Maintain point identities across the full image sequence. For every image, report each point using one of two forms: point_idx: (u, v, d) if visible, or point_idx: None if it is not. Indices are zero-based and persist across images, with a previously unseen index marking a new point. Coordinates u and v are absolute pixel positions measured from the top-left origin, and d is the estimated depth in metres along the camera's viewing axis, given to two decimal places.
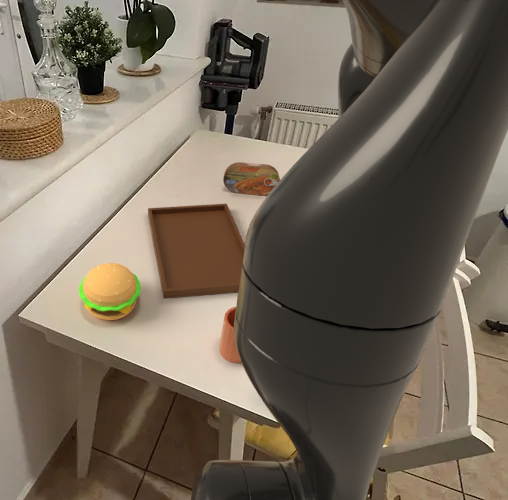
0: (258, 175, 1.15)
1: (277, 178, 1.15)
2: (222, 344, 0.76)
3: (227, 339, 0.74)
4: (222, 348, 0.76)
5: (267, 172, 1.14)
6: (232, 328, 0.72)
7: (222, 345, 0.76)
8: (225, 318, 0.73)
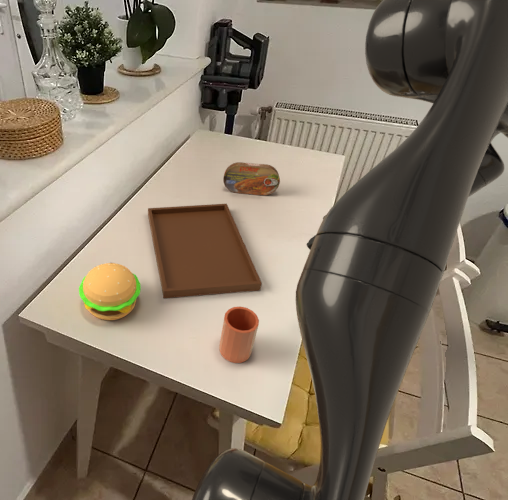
0: (258, 175, 1.15)
1: (277, 178, 1.15)
2: (222, 344, 0.76)
3: (227, 339, 0.74)
4: (222, 348, 0.76)
5: (267, 172, 1.14)
6: (232, 328, 0.72)
7: (222, 345, 0.76)
8: (225, 318, 0.73)
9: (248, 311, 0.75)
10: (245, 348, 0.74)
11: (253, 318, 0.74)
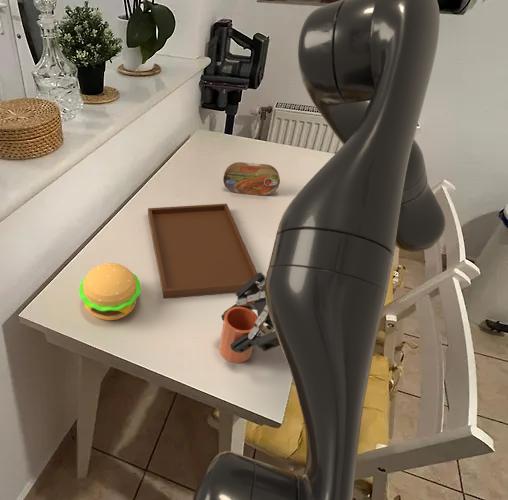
0: (258, 175, 1.15)
1: (277, 178, 1.15)
2: (222, 344, 0.76)
3: (227, 339, 0.74)
4: (222, 348, 0.76)
5: (267, 172, 1.14)
6: (232, 328, 0.72)
7: (222, 345, 0.76)
8: (225, 318, 0.73)
9: (248, 311, 0.75)
10: None
11: (253, 318, 0.74)
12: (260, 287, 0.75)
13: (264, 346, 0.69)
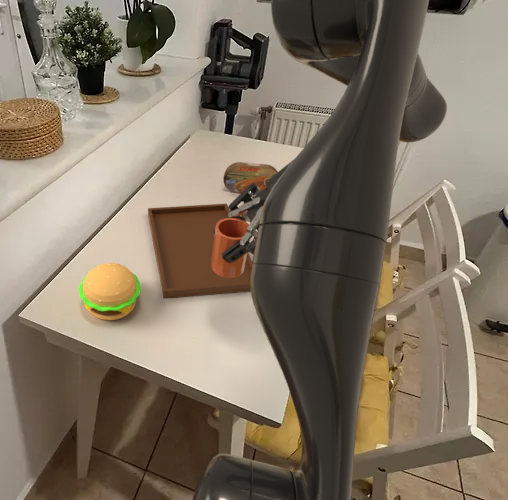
0: (258, 175, 1.15)
1: None
2: (214, 258, 0.73)
3: (218, 250, 0.71)
4: (214, 262, 0.73)
5: (267, 172, 1.14)
6: (223, 235, 0.69)
7: (214, 259, 0.73)
8: (216, 227, 0.70)
9: (240, 222, 0.72)
10: (237, 259, 0.71)
11: None
12: (253, 198, 0.72)
13: None
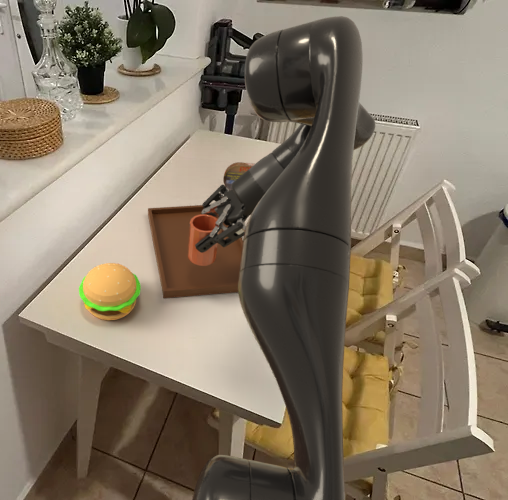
0: None
1: None
2: (189, 248, 0.85)
3: (193, 241, 0.83)
4: (189, 252, 0.86)
5: None
6: (196, 229, 0.81)
7: (189, 249, 0.85)
8: (191, 222, 0.82)
9: (212, 217, 0.84)
10: (209, 249, 0.83)
11: None
12: (223, 197, 0.85)
13: (223, 242, 0.78)
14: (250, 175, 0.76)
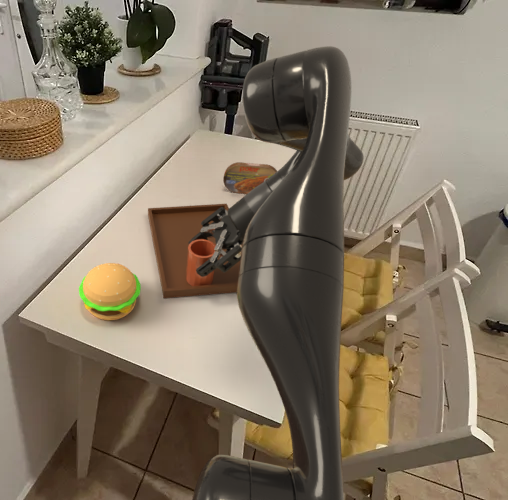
0: (258, 175, 1.15)
1: None
2: (187, 271, 0.89)
3: (191, 265, 0.87)
4: (187, 275, 0.90)
5: (267, 172, 1.14)
6: (194, 254, 0.85)
7: (187, 272, 0.89)
8: (189, 247, 0.86)
9: (209, 242, 0.88)
10: None
11: (213, 248, 0.88)
12: (220, 219, 0.88)
13: (223, 267, 0.81)
14: (245, 203, 0.80)
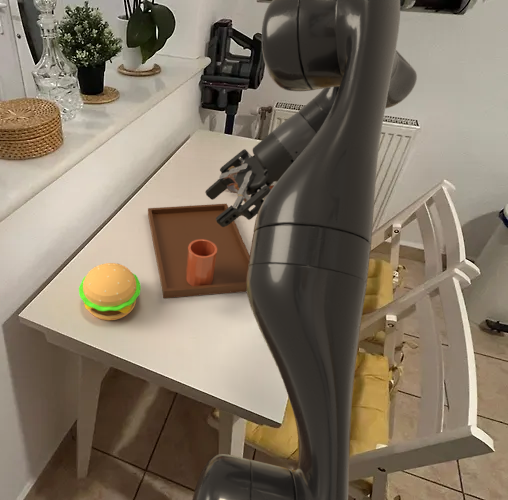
0: None
1: None
2: (187, 271, 0.89)
3: (191, 265, 0.87)
4: (187, 275, 0.90)
5: None
6: (194, 254, 0.85)
7: (187, 272, 0.89)
8: (189, 247, 0.86)
9: (209, 242, 0.88)
10: (206, 273, 0.87)
11: (213, 248, 0.88)
12: (243, 163, 0.77)
13: (248, 213, 0.70)
14: (274, 137, 0.68)
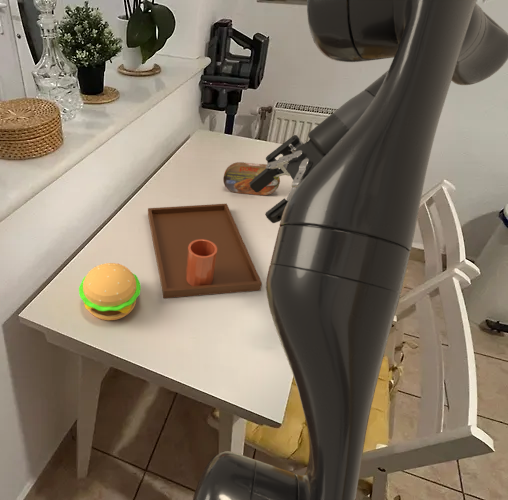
0: None
1: (277, 178, 1.15)
2: (187, 271, 0.89)
3: (191, 265, 0.87)
4: (187, 275, 0.90)
5: None
6: (194, 254, 0.85)
7: (187, 272, 0.89)
8: (189, 247, 0.86)
9: (209, 242, 0.88)
10: (206, 273, 0.87)
11: (213, 248, 0.88)
12: (293, 151, 0.68)
13: None
14: (337, 119, 0.59)
